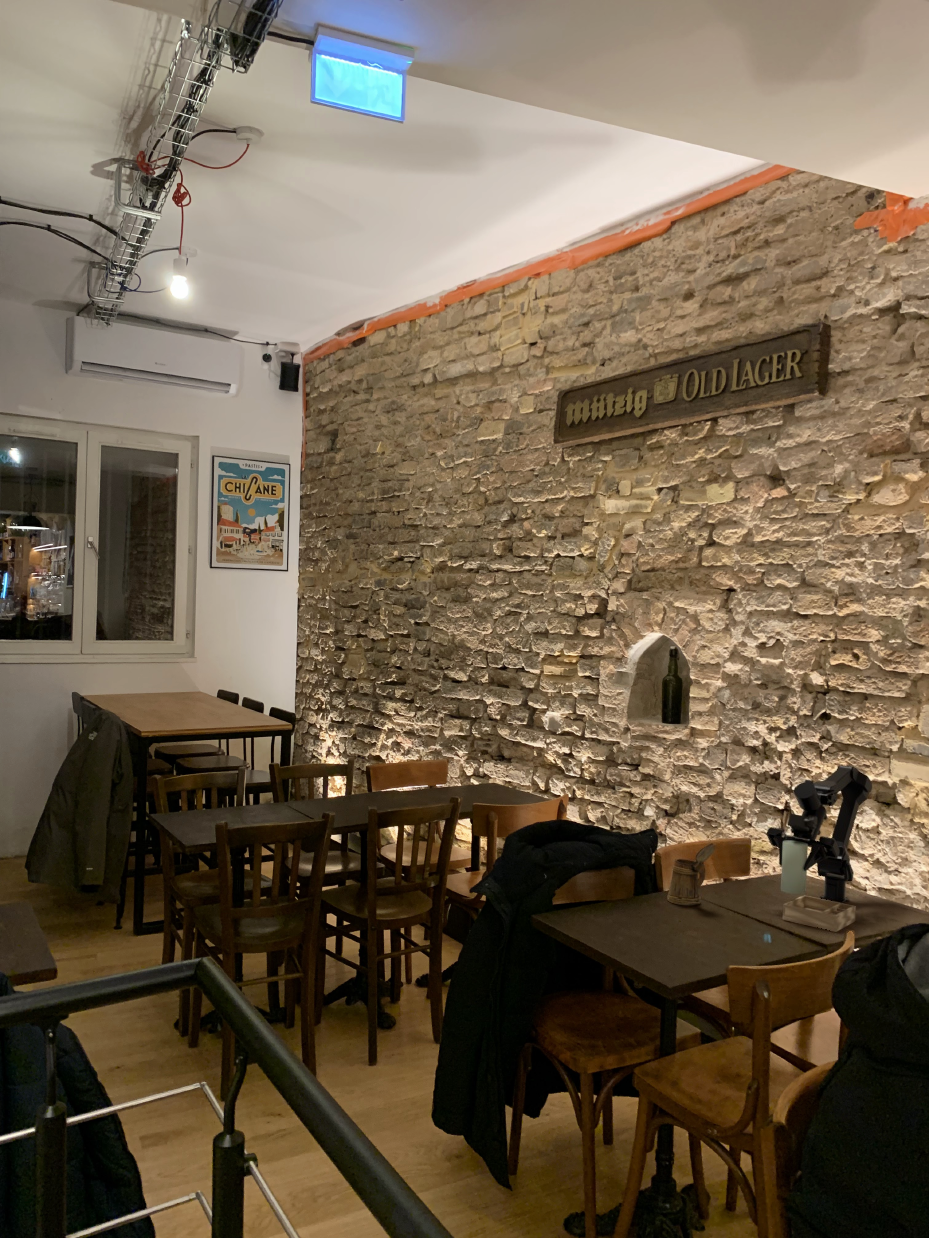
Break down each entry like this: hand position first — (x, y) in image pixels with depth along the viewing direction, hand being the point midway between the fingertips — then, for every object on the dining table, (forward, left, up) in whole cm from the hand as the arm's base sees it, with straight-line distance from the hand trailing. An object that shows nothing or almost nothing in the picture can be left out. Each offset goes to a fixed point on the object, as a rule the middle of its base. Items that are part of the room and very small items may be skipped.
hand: (792, 867), depth 257 cm
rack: (-3, +7, -13) cm, 15 cm away
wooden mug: (+10, -24, -13) cm, 30 cm away
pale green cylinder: (-1, 0, -7) cm, 7 cm away
